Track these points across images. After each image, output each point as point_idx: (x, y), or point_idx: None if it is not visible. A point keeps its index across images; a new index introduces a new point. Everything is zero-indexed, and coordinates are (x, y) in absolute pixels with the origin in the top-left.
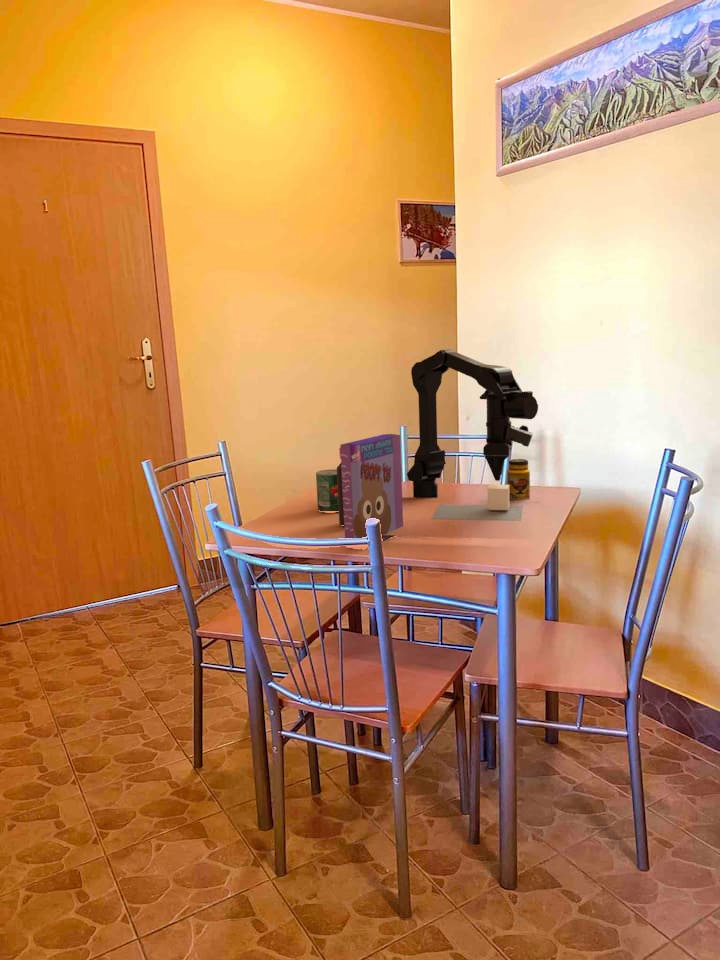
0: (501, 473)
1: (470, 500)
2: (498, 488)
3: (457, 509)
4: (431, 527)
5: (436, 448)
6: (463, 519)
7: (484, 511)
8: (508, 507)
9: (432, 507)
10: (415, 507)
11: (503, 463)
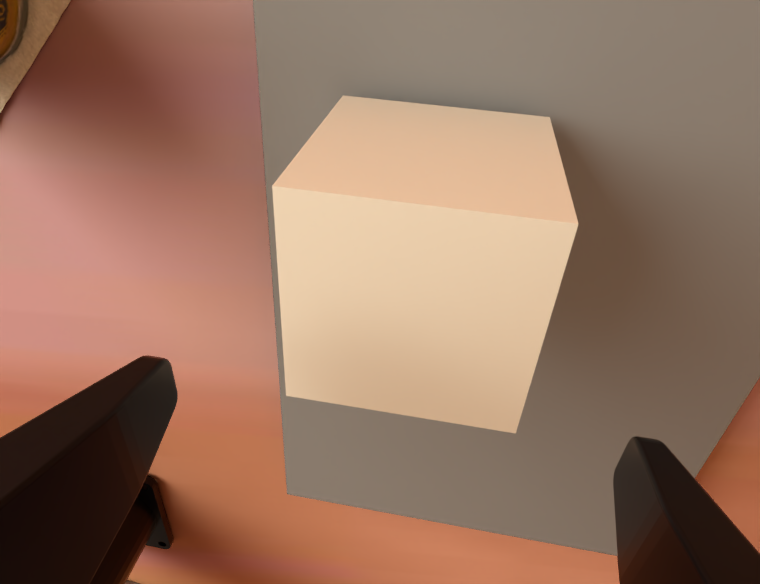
0: (159, 372)
1: (27, 318)
2: (528, 337)
3: (420, 439)
4: None
5: None
6: (718, 438)
7: None
8: (549, 126)
9: (250, 488)
10: (262, 539)
11: (17, 495)
